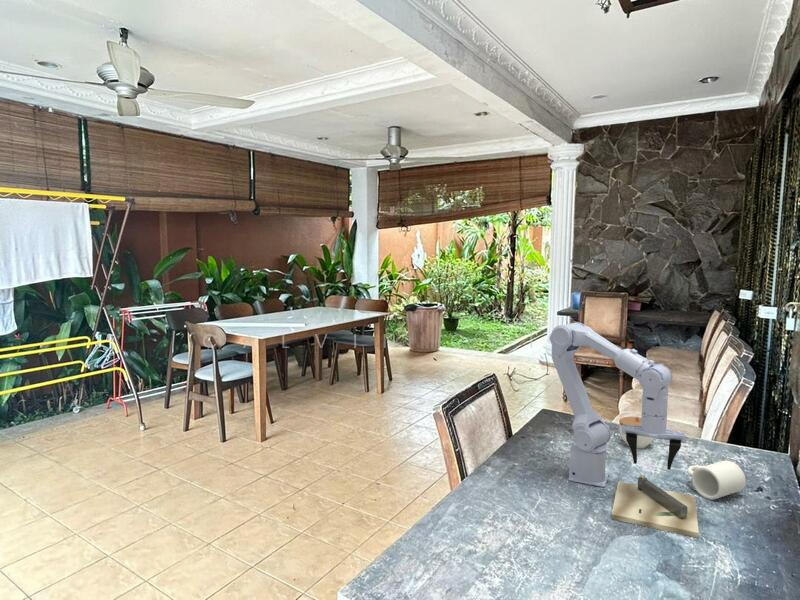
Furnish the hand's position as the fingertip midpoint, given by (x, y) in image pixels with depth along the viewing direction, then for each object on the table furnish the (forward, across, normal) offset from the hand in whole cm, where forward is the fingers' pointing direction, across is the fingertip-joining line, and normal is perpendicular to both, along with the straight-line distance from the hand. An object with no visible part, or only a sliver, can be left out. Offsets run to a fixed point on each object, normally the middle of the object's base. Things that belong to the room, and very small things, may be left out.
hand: (651, 465), depth 130 cm
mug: (+10, +14, +13) cm, 21 cm away
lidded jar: (+10, -5, +39) cm, 40 cm away
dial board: (+9, +1, -4) cm, 10 cm away
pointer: (+8, +2, -2) cm, 9 cm away
